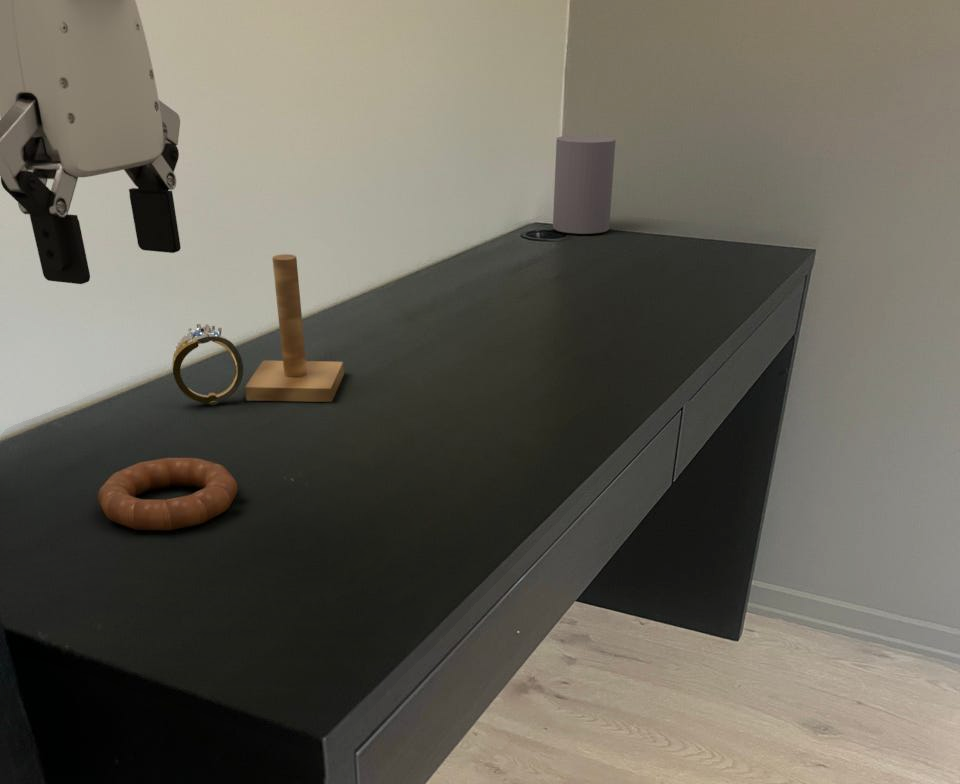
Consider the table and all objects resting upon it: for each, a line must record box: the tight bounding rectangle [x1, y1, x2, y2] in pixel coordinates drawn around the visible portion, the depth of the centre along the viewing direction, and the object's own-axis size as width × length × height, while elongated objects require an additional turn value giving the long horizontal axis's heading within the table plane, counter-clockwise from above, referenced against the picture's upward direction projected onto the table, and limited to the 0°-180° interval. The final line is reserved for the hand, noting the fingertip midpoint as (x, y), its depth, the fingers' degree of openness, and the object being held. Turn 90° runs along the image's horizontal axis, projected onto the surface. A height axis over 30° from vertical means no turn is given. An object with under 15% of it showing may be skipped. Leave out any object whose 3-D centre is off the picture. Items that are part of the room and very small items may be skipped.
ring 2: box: [171, 323, 244, 406], centre depth 100 cm, size 7×3×8 cm, turn 107°
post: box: [244, 253, 345, 403], centre depth 103 cm, size 9×9×14 cm
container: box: [552, 134, 617, 236], centre depth 177 cm, size 10×10×15 cm
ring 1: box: [97, 457, 239, 531], centre depth 81 cm, size 11×11×2 cm
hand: (116, 265), depth 67 cm, fingers open, 9 cm apart
